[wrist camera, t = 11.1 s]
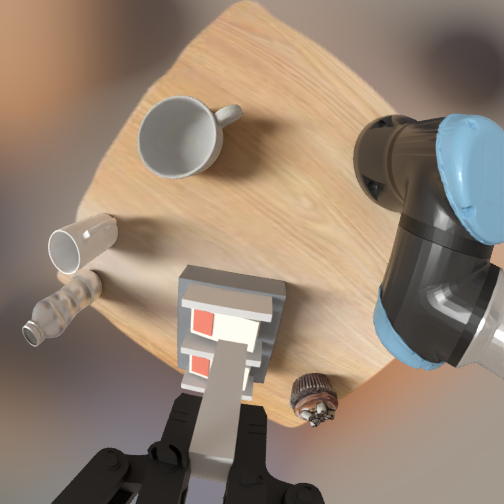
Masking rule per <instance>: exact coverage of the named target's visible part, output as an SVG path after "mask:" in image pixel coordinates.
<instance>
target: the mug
mask: <svg viewBox="0 0 504 504" xmlns="http://www.w3.org/2000/svg"><path fill="white" fill-rule="evenodd" d="M117 238H118V227H117V221H116V219H115V218H112V217H111V216H110V215H108V214H105V213H100V214H97V215H94V216H91V217H88V218H86V219H83V220H81V221H78V222H76V223H73V224H71V225H68V226H66V227H63V228H62V229H59V230H57V231H55V232H54V233H52V235H51V236H50V239H49V245H48V248H49V254H50V257H51V260H52V262H53V264H54V265H55V266H56V268H57V269H58V270H59V271H61V272H62V273H64V274H68V275H70V274H74V273H75V272H77V271H78V270H79V269H81V268H82V267H84V266H85V265H86V264H88V263H89V262H90V261H92V260H93V259H94V258H96V257H97V256H98V255H100V254H101V253H103V252H104V251H105V250H107V249H108V248H110V247H111V246H112V245H113V244H114V243H115V242H116V240H117Z"/></svg>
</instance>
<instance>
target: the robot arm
mask: <svg viewBox="0 0 504 504" xmlns="http://www.w3.org/2000/svg"><path fill="white" fill-rule="evenodd" d="M353 161H354V170H355V174H356V177H357V180H358V182H359V184H360V186H361V188H362V190H363V191H364V193H365V194H366V195H367V196H368V197H369V198H370V199H371V200H372V201H373V202H375V203H376V204H378V205H379V206H381V207H383V208H385V209H388V210H390V211H394V212H402V213H401V218H400V222H399V225H398V229H397V233H396V237H395V241H394V245H393V249H392V253H391V256H390V260H389V263H388V266H387V269H386V273H385V276H384V279H383V281H382V283H381V285H380V287H379V291H378V300H377V303H376V307H375V310H374V314H373V323H374V325H375V331H376V334H377V336H378V338H379V340H380V341H381V343H382V344H383V345H384V347H385V348H386V349H387V350H388V351H389V352H390V353H391V354H392V355H393V356H394V357H395V358H397V359H398V360H399V361H401V362H403V363H404V364H406V365H408V366H410V367H413V368H416V369H419V368H420V367H422V368H423V369H424V370H434V369H437V368H439V367H440V366H441V365H443V364H444V363H446V362H447V363H448V364H450V365H452V366H453V367H455V368H457V369H458V368H461V367H464V366H466V365H469V364H472V363H477V364H479V365H480V366H482V367H484V368H485V369H487V370H489V371H490V372H492V373H494V374H496V375H497V376H499V377H501V378H502V379H504V272H503V269H502V268H500V267H498V266H496V265H494V264H492V263H490V262H489V261H490V258H491V254H492V251H493V247H494V245H495V244H500V243H503V242H504V130H503V129H502V128H501V127H500V126H499V125H497V124H496V123H495V122H493V121H492V120H490V119H488V118H486V117H483V116H479V115H462V114H451V115H449V116H447V117H440V118H434V119H429V120H423V121H417V120H415V119H412V118H410V117H407V116H403V115H387V116H384V117H380V118H378V119H375V120H374V121H372V122H370V123H369V124H368V125H367V126H366V127H365V128H364V129H363V130H362V132H361V133H360V135H359V137H358V139H357V141H356V145H355V149H354V157H353ZM247 348H248V344H244V343H238V342H232V341H226V340H221V339H218V342H217V346H216V350H215V354H214V357H213V361H212V365H211V368H210V372H209V376H208V380H207V383H206V387H205V391H204V395H203V397H199V396H194V395H189V394H185V393H182V394H181V395H180V396H179V397H178V398H177V399H176V400H175V401H174V404H173V407H172V410H171V412H170V415H169V419H168V421H167V424H166V427H165V430H164V432H163V435H162V438H161V441H158V442H155V443H154V444H152V445H151V446H150V447H149V448H148V450H147V451H148V454H147V455H127V454H124V453H123V452H121V451H120V450H117V449H115V448H105V449H102V450H101V451H99V452H98V453H97V454H96V455H95V456H94V457H93V458H92V459H91V460H90V461H89V463H88V464H87V465H86V466H85V467H84V468H83V469H82V470H81V471H80V473H79V474H78V475H77V476H76V477H75V478H74V479H73V480H72V481H71V482H70V484H69V485H68V486H67V487H66V488H65V489H64V490H63V491H62V492H61V494H60V495H59V496H58V497H57V498H56V499H55V500H54V501H53V502H52V504H130V503H131V502H132V500H133V499H134V497H135V496H136V495H137V493H139V495H138V498H137V501H136V504H185V501H186V496H187V492H188V483H189V478H190V476H191V477H196V478H201V479H206V480H211V481H217V482H224V483H226V490H225V494H224V497H223V504H325V502H324V501H323V497H322V495H321V492H320V491H319V489H318V488H317V487H315V486H314V485H312V484H308V483H298V484H296V485H293V484H289V483H286V482H283V481H280V480H278V479H276V478H274V477H273V476H271V475H270V474H269V472H268V471H267V468H266V463H265V461H266V434H267V415H266V412H265V410H264V408H263V406H255V405H248V404H241V398H242V389H243V381H244V373H245V365H246V357H247Z"/></svg>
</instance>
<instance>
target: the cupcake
mask: <svg viewBox="0 0 504 504" xmlns="http://www.w3.org/2000/svg"><path fill="white" fill-rule="evenodd" d="M289 404H290V408H292V409H293V411H294V413H295V415H296V416H297V417H298V418H300V419H302V420H307V421H311V425H312V427H317V426H318V425H319V424H320V422H324V421H325V420H327V419H331V420H333V419H334V416H335V410H336V409H337V407H338V401H337V394H336V392H335V391H334V389H333V387H332V385H331V383H330V381H329V380H328V379H327V378H326V377H325V376H324V375H322V374H318V373H310V374H306V375H303V376H301V377H299V378H298V379H296V381H295V382H294V383H293V387H292V392H291V398H290V403H289ZM322 420H323V421H322Z"/></svg>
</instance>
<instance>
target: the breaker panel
mask: <svg viewBox="0 0 504 504" xmlns="http://www.w3.org/2000/svg"><path fill="white" fill-rule="evenodd" d="M285 299H286V290H285V281H279V280H273V279H267V278H261V277H255V276H249V275H243V274H237V273H231V272H225V271H219V270H214V269H208V268H202V267H197V266H191V265H187V267H186V268H185V270H184V271H183V272H182V274H181V275H180V277H179V286H178V331H177V346H178V368H181V369H185V370H186V372H185V375H184V377H183V380H182V383H181V388H185V389H189V390H193V391H198V392H203V393H204V391H205V387H206V383H207V380H208V379H207V378H204V377H201V376H198V375H196V374H193V373H190V372H189V363H190V355H193V356H198V357H203V358H207V359H213V357H214V354H215V350H216V346H217V341H214V340H211V339H208V338H206V337H203V336H200V335H197V334H194V333H192V332H191V310H192V309H197V310H202V311H207V312H212V313H218V314H223V315H229V316H234V317H240V318H246V319H252V320H259V321H261V324H260V328H259V333H258V338H257V342H256V347H255V349H254V351H253V353H252V352H249V351H247V357H246V365H247V366H251V370H250V374H249V379H248V383H247V386H246V389H245V391H244V390H242V398H241V399H242V400H249V401H251V399H252V393H253V382H256V383H264V379H265V376H266V372H267V369H268V365H269V361H270V358H271V354H272V350H273V346H274V343H275V339H276V335H277V331H278V327H279V323H280V319H281V315H282V311H283V307H284V303H285Z"/></svg>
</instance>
